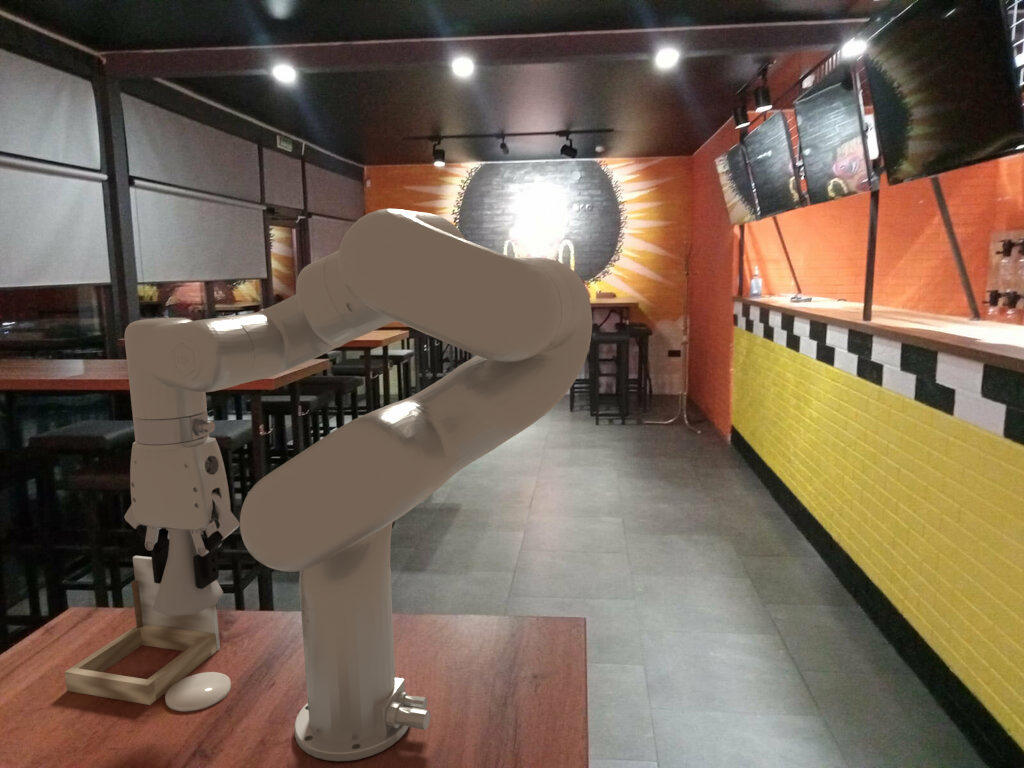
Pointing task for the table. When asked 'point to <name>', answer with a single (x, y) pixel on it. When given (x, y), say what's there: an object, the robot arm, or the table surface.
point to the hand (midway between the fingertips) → (186, 579)
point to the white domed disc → (198, 691)
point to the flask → (183, 580)
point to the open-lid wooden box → (151, 630)
